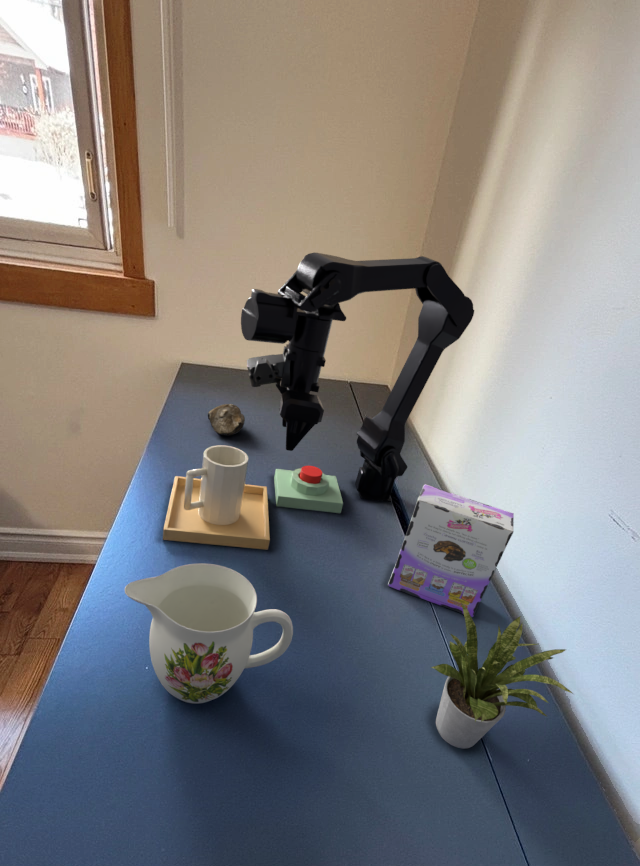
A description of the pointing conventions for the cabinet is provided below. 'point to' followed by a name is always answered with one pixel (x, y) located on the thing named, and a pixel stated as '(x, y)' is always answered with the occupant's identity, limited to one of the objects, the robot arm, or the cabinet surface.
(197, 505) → the tall mug
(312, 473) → the switch button
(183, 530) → the stand tray
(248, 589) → the pitcher
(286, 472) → the switch base
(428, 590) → the candy box
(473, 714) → the house plant
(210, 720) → the cabinet surface
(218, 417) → the grey lumpy stone
